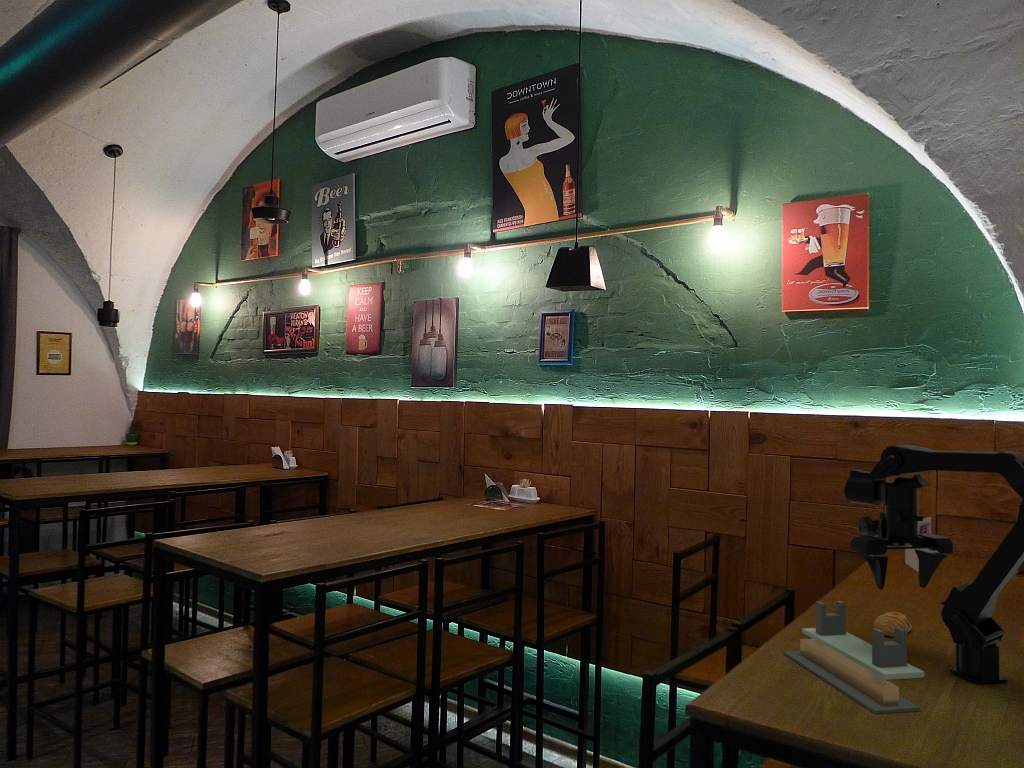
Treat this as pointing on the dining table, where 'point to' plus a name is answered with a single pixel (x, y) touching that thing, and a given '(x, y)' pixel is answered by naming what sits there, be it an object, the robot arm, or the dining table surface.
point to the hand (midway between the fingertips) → (901, 588)
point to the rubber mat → (851, 688)
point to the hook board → (864, 645)
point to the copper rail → (850, 672)
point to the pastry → (892, 623)
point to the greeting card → (910, 554)
